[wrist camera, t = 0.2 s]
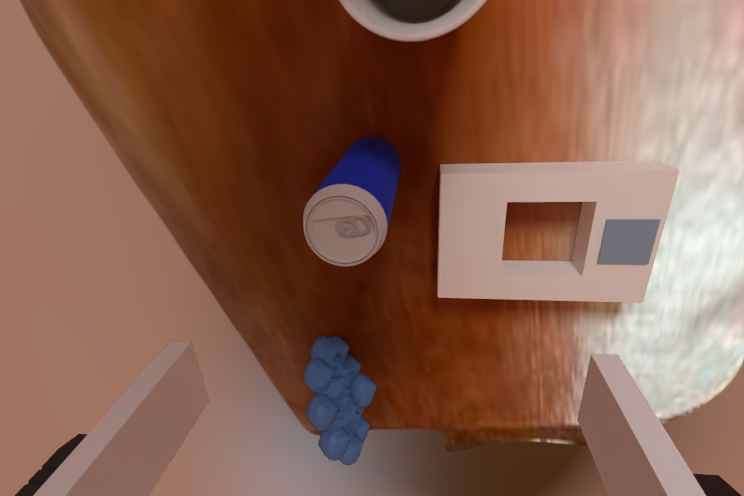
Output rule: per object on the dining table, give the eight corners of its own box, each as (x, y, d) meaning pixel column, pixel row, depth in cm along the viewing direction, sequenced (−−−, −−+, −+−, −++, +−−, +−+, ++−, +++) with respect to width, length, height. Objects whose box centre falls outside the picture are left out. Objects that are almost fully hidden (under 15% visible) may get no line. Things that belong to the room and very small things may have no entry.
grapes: (402, 385, 49) (394, 481, 38) (350, 398, 50) (329, 493, 40) (361, 307, 44) (340, 390, 34) (307, 323, 46) (270, 407, 36)
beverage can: (354, 198, 39) (316, 278, 26) (336, 145, 37) (285, 201, 24) (407, 184, 38) (396, 260, 24) (392, 129, 36) (370, 178, 22)
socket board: (439, 164, 37) (440, 174, 34) (659, 160, 34) (680, 170, 31) (437, 281, 42) (437, 298, 39) (628, 285, 40) (643, 303, 37)
